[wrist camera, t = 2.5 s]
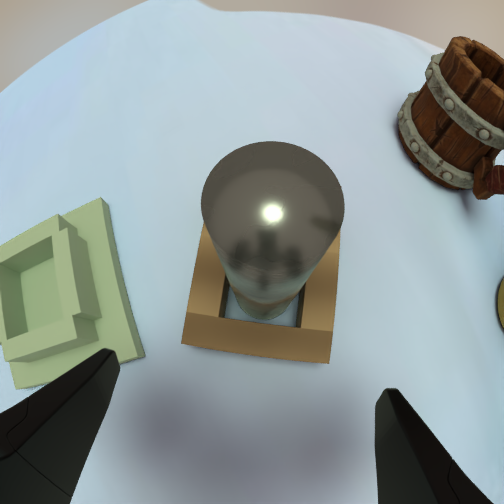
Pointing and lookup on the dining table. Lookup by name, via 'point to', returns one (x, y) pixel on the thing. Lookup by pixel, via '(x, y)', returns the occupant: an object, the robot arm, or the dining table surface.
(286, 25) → the dining table surface
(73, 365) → the socket stand
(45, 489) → the robot arm
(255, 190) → the grey glass peg
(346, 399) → the dining table surface
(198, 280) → the wooden rectangular frame
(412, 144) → the mug
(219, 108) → the dining table surface
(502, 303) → the bark textured cylinder
